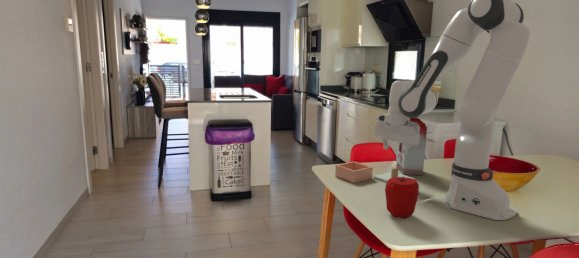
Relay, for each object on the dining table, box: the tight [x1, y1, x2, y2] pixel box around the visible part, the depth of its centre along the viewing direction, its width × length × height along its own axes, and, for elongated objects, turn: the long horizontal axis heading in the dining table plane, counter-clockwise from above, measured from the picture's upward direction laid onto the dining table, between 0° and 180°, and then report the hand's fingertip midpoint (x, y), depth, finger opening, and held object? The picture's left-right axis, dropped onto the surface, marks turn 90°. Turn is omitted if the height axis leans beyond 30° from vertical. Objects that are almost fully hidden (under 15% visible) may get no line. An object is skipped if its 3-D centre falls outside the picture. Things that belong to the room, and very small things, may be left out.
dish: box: [334, 161, 374, 184], centre depth 161 cm, size 11×11×6 cm
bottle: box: [395, 116, 428, 176], centre depth 170 cm, size 14×10×30 cm
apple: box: [384, 176, 420, 219], centre depth 122 cm, size 11×10×14 cm
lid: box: [373, 166, 416, 183], centre depth 158 cm, size 12×12×5 cm
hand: (394, 151), depth 157 cm, fingers open, 8 cm apart
